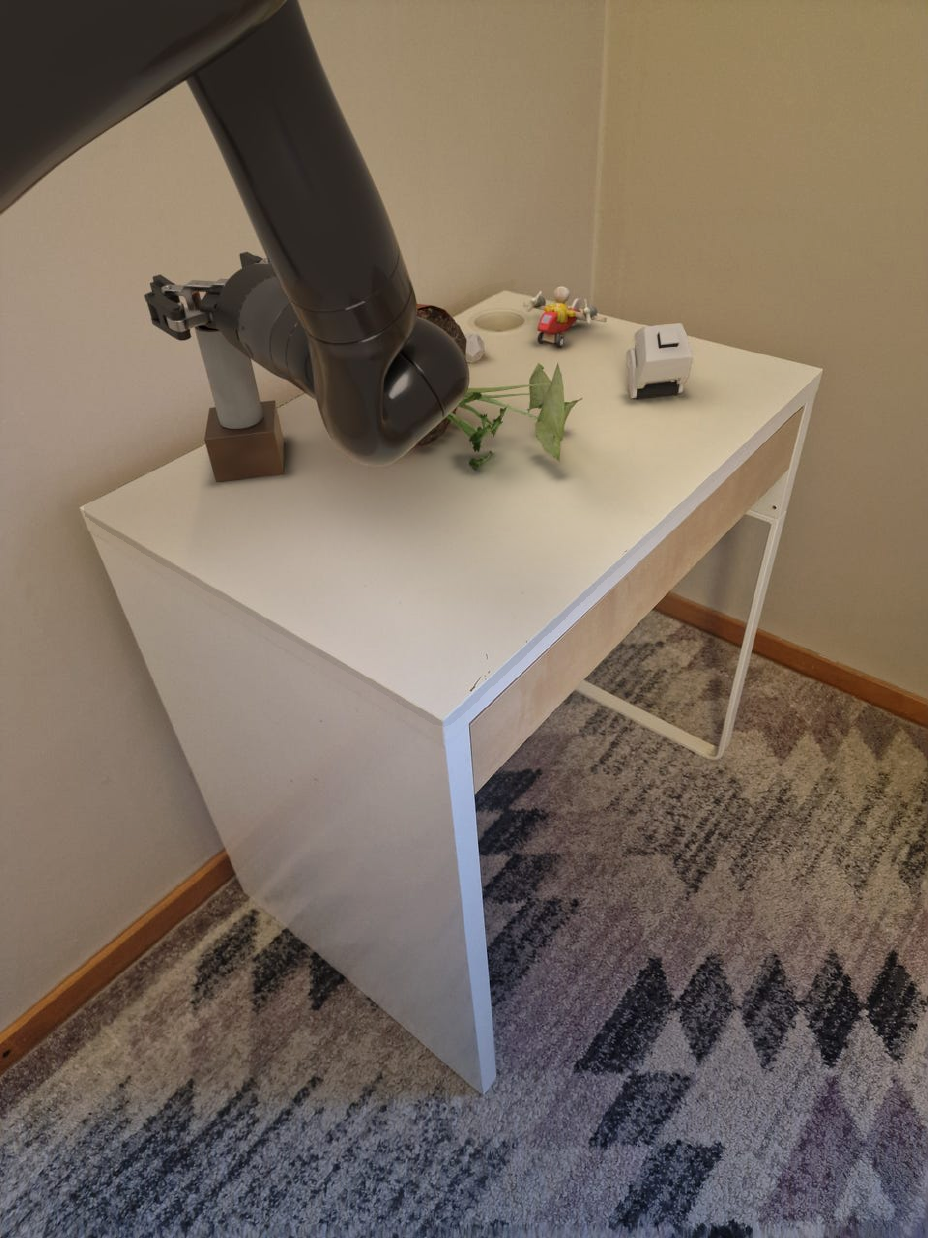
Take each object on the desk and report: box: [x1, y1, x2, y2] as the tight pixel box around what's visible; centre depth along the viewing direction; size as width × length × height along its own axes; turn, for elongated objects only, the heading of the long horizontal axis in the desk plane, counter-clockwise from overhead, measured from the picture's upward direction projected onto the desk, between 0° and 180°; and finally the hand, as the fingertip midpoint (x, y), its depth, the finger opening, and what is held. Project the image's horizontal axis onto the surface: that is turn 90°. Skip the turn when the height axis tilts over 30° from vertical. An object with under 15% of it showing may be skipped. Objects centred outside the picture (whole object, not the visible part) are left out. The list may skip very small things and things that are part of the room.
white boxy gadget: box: [625, 322, 694, 400], centre depth 96 cm, size 6×7×10 cm
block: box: [203, 399, 285, 483], centre depth 90 cm, size 7×7×5 cm
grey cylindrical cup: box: [193, 325, 263, 429], centre depth 85 cm, size 4×4×10 cm
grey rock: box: [464, 332, 486, 364], centre depth 107 cm, size 4×4×3 cm
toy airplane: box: [522, 285, 608, 348], centre depth 110 cm, size 9×9×6 cm
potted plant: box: [315, 303, 583, 470], centre depth 87 cm, size 16×15×35 cm
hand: (202, 274), depth 79 cm, fingers open, 8 cm apart
